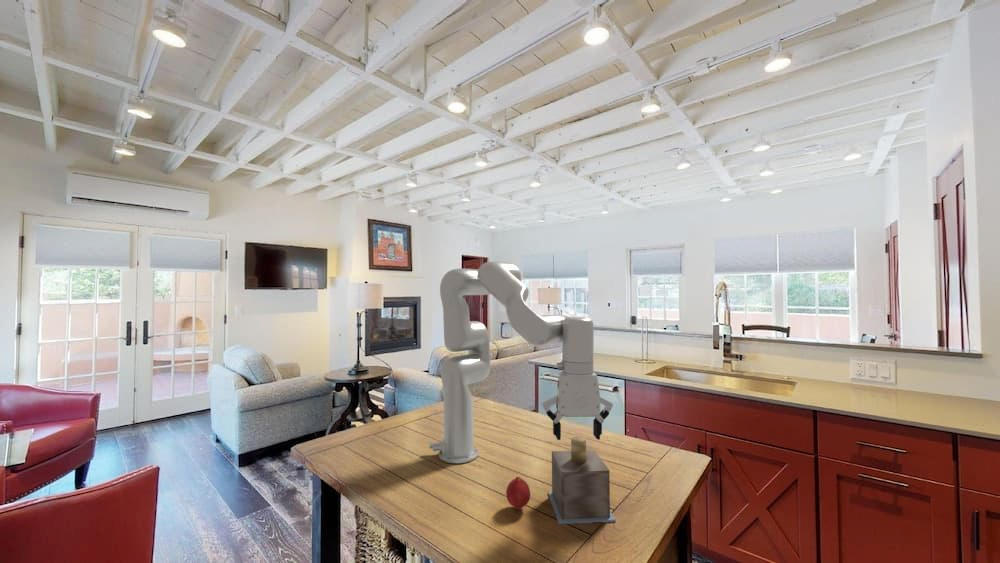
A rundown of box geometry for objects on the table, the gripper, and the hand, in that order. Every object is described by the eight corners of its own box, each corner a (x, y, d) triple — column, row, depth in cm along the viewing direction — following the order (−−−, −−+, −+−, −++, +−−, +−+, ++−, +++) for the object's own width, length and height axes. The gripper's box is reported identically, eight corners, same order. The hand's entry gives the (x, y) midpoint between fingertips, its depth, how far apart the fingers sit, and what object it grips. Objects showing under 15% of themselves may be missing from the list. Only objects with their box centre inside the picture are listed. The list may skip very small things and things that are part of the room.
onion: (505, 502, 93) (505, 470, 93) (528, 501, 93) (527, 469, 93) (507, 516, 87) (507, 481, 87) (532, 515, 87) (531, 480, 88)
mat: (558, 524, 84) (558, 521, 84) (548, 493, 97) (548, 491, 97) (615, 521, 85) (615, 519, 85) (597, 491, 98) (597, 489, 98)
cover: (561, 519, 85) (561, 449, 85) (552, 493, 96) (551, 431, 97) (610, 517, 86) (609, 448, 86) (594, 491, 97) (594, 430, 97)
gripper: (545, 371, 88) (545, 444, 87) (617, 370, 89) (617, 443, 88) (540, 364, 95) (539, 432, 95) (606, 364, 96) (606, 431, 96)
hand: (577, 437), depth 92 cm, fingers open, 9 cm apart
